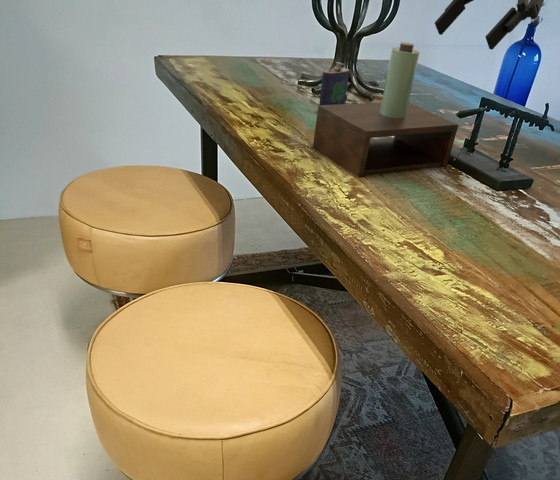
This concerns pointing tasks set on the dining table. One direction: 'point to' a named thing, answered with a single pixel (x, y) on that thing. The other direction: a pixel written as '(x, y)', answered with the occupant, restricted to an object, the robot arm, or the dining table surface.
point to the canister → (399, 81)
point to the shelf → (382, 152)
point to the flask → (334, 85)
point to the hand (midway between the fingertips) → (462, 36)
